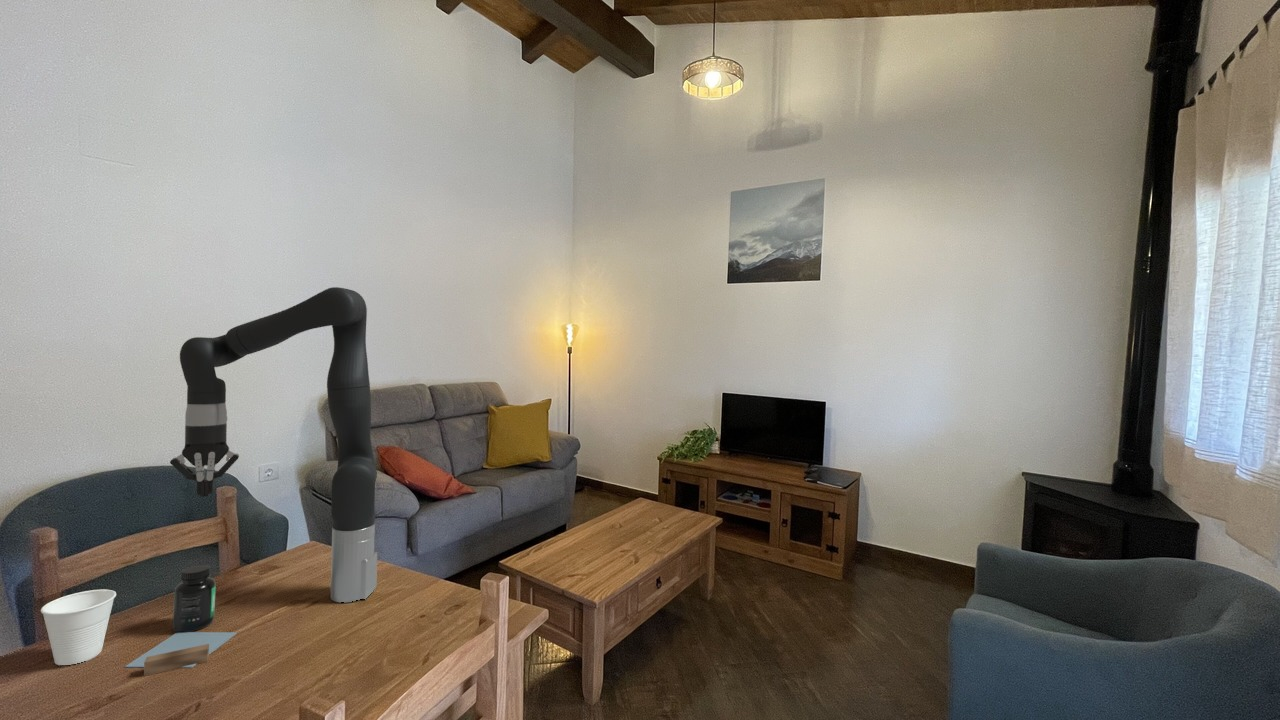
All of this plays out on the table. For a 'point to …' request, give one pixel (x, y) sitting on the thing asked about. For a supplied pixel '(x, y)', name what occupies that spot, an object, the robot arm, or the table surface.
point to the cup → (78, 625)
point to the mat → (185, 644)
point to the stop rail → (176, 659)
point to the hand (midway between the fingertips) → (205, 496)
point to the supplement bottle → (194, 599)
